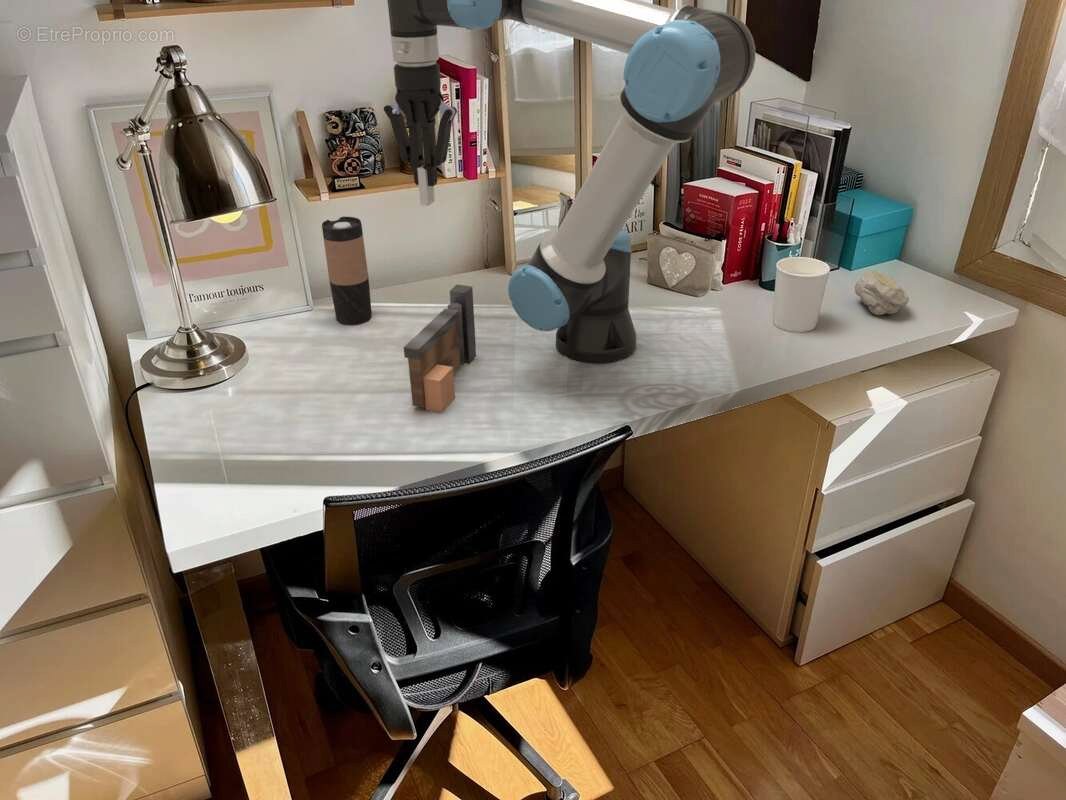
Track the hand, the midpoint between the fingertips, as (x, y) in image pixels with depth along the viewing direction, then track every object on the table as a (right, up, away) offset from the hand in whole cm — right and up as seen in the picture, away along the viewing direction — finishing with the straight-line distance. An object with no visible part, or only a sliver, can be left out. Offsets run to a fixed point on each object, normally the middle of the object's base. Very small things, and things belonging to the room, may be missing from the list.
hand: (427, 202), depth 152 cm
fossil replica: (+89, -17, +21) cm, 92 cm away
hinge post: (+6, -28, +5) cm, 29 cm away
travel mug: (-18, -19, +21) cm, 33 cm away
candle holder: (+70, -20, +16) cm, 75 cm away
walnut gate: (+3, -32, -4) cm, 32 cm away
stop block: (+3, -36, -9) cm, 37 cm away
